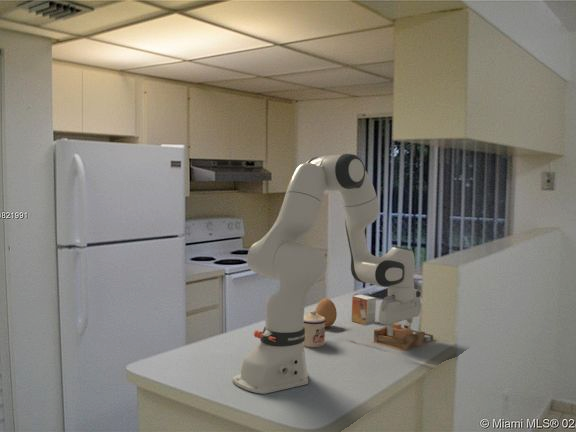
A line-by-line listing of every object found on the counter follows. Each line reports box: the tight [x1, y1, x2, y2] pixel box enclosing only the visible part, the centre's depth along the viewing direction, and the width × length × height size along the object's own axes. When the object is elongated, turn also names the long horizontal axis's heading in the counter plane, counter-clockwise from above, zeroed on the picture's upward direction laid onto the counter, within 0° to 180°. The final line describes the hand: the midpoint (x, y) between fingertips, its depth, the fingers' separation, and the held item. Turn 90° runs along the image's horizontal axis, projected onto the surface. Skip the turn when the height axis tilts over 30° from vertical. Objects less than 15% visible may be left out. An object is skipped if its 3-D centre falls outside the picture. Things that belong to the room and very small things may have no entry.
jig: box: [372, 326, 436, 352], centre depth 192 cm, size 20×13×5 cm, turn 134°
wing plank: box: [413, 332, 432, 343], centre depth 196 cm, size 2×12×2 cm, turn 44°
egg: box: [315, 298, 338, 329], centre depth 212 cm, size 8×8×11 cm
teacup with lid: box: [303, 310, 326, 348], centre depth 191 cm, size 12×9×12 cm
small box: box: [351, 294, 377, 326], centre depth 220 cm, size 8×6×10 cm
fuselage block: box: [387, 322, 414, 341], centre depth 189 cm, size 4×8×6 cm, turn 44°
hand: (399, 332), depth 190 cm, fingers open, 8 cm apart
